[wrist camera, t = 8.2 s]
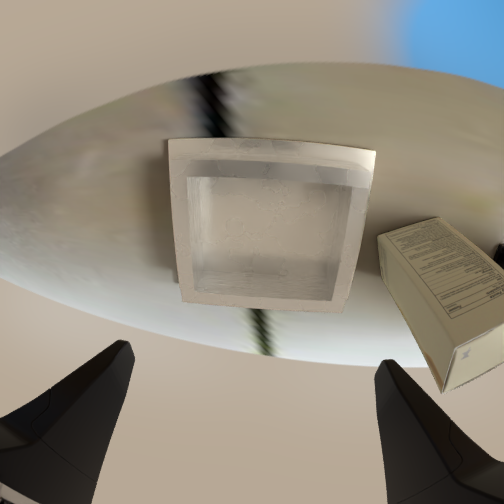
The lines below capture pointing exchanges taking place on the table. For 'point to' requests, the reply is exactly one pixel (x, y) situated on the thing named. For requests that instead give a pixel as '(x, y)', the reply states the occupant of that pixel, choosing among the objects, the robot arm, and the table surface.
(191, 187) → the square open tray
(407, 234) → the skincare box
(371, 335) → the table surface
